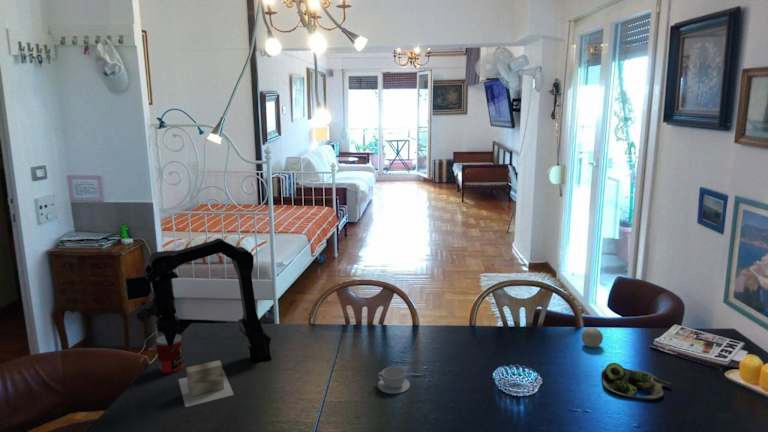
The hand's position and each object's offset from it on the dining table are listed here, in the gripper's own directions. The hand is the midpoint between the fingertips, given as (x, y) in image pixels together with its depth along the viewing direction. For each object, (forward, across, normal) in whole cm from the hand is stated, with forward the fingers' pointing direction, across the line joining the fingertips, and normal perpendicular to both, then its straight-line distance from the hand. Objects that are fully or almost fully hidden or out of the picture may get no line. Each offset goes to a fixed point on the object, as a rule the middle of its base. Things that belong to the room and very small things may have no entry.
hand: (169, 340), depth 172 cm
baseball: (+15, +44, +134) cm, 142 cm away
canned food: (+15, -9, 0) cm, 17 cm away
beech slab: (+14, +11, +8) cm, 20 cm away
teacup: (+15, +35, +61) cm, 72 cm away
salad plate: (+15, +68, +124) cm, 142 cm away
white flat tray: (+14, +8, +8) cm, 19 cm away
